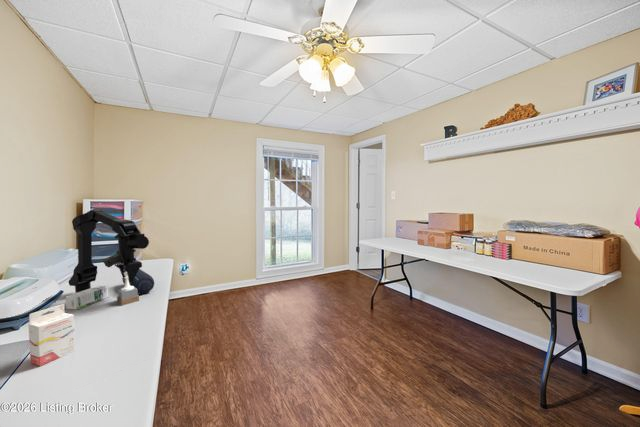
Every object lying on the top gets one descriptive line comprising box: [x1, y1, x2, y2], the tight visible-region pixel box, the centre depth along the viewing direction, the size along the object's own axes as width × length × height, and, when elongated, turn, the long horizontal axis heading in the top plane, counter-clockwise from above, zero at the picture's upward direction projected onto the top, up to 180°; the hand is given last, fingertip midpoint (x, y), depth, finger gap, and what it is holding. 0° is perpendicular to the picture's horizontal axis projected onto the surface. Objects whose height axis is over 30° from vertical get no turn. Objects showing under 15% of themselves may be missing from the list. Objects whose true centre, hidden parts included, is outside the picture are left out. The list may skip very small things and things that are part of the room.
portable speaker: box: [121, 268, 155, 295], centre depth 136 cm, size 25×10×10 cm, turn 48°
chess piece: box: [120, 271, 134, 291], centre depth 120 cm, size 5×5×10 cm
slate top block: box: [117, 287, 139, 299], centre depth 120 cm, size 6×6×3 cm
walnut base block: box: [116, 294, 140, 306], centre depth 120 cm, size 7×7×3 cm
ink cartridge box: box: [28, 303, 76, 367], centre depth 78 cm, size 9×5×15 cm, turn 160°
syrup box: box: [65, 285, 109, 310], centre depth 119 cm, size 6×6×14 cm
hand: (127, 280), depth 121 cm, fingers open, 8 cm apart
